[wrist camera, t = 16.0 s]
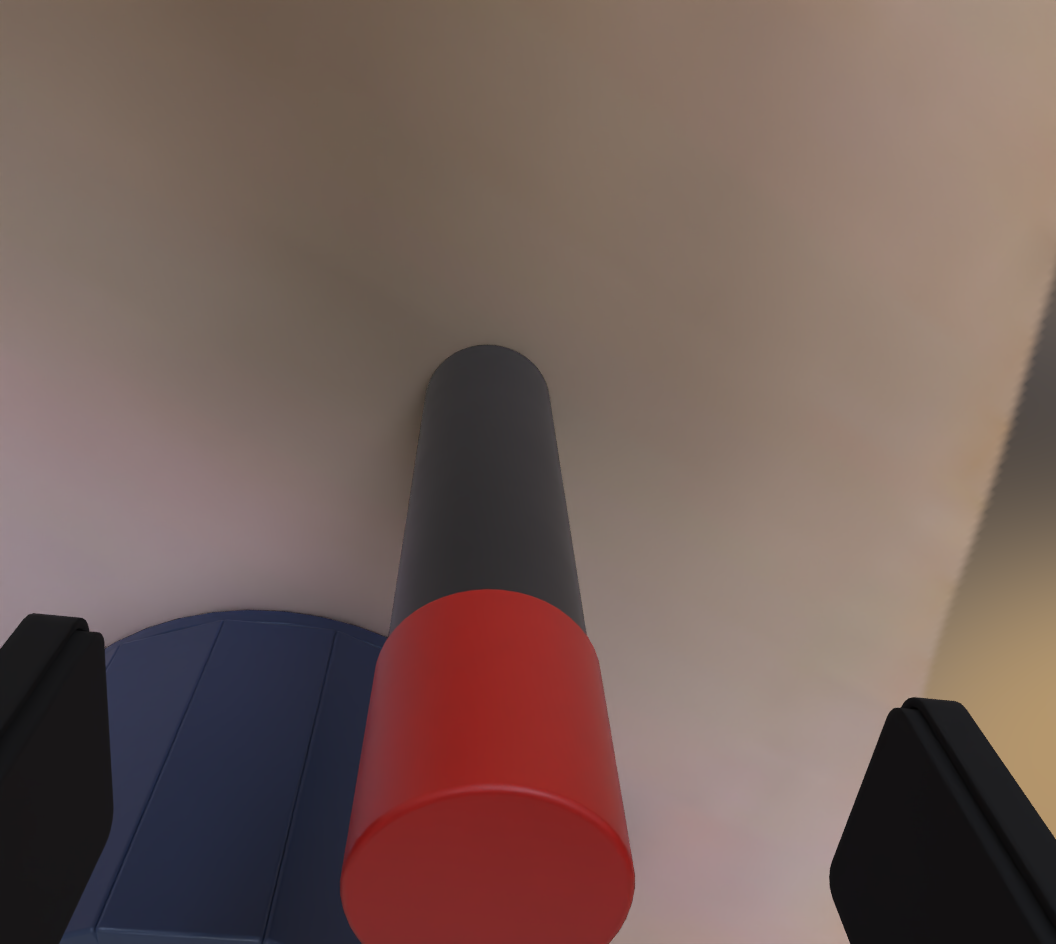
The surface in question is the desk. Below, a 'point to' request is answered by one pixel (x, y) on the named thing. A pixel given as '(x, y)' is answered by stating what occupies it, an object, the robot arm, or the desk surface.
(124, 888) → the pot
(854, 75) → the desk surface
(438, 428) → the marker
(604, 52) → the desk surface
